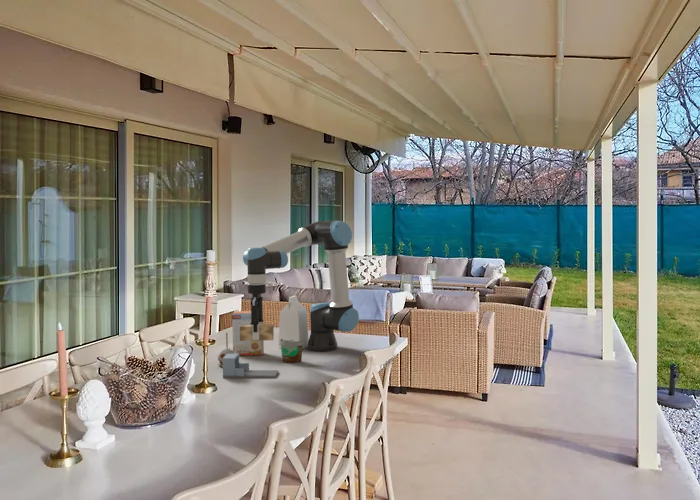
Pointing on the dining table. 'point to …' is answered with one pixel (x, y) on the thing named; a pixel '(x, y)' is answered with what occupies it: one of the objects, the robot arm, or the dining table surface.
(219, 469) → the dining table surface
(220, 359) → the decorative ornament
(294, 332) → the milk
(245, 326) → the oak slat
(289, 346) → the food container
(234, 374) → the board
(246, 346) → the cracker box
